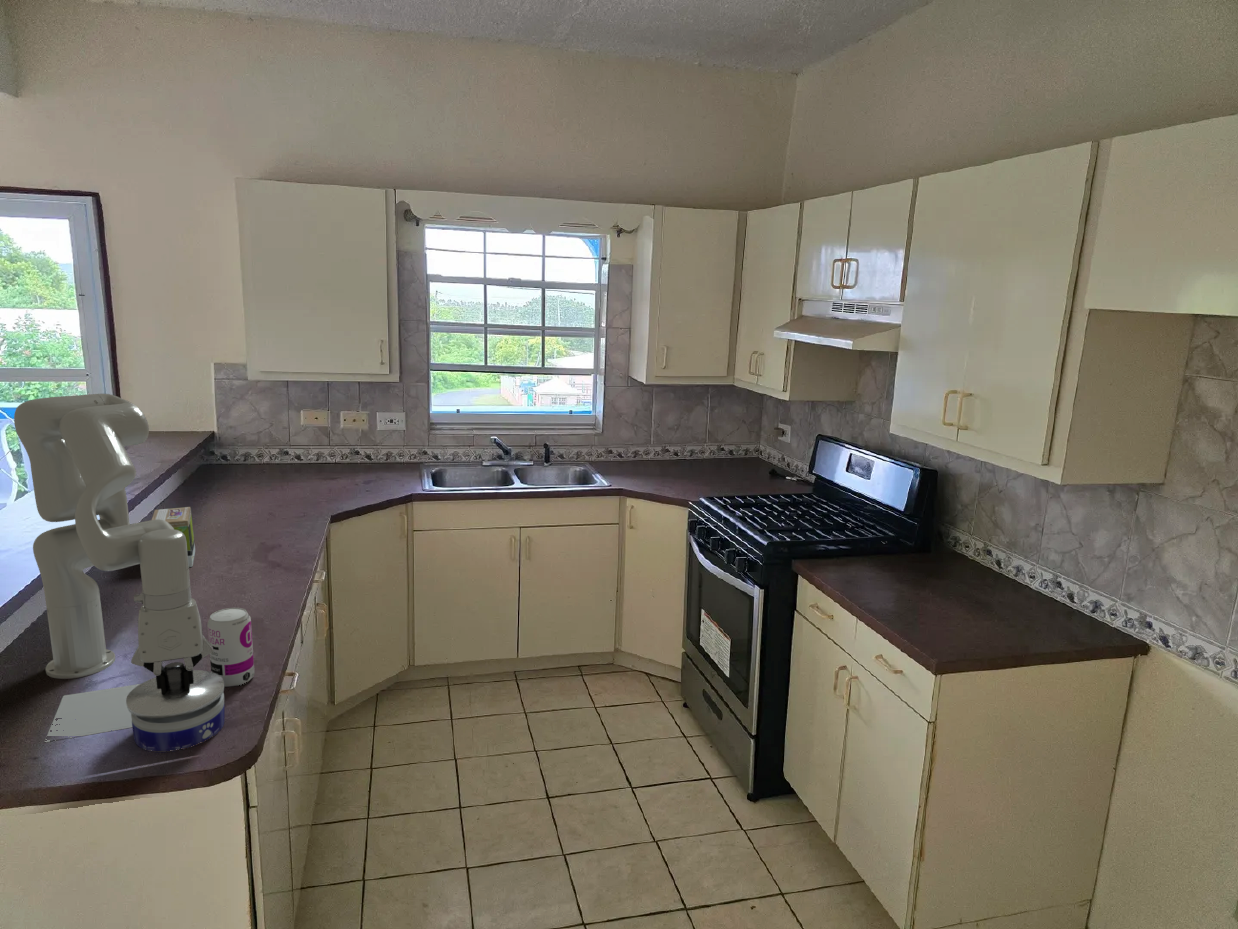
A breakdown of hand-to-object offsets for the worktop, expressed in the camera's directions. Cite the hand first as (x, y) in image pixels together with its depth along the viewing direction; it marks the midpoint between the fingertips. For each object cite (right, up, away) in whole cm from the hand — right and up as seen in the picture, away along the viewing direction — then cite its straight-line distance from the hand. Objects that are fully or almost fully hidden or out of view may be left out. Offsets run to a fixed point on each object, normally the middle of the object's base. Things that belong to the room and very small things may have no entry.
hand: (176, 688), depth 148 cm
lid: (0, -1, 0) cm, 1 cm away
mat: (-17, -7, +8) cm, 20 cm away
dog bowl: (0, -9, +2) cm, 9 cm away
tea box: (-50, +13, +89) cm, 102 cm away
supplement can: (0, -4, +22) cm, 22 cm away
